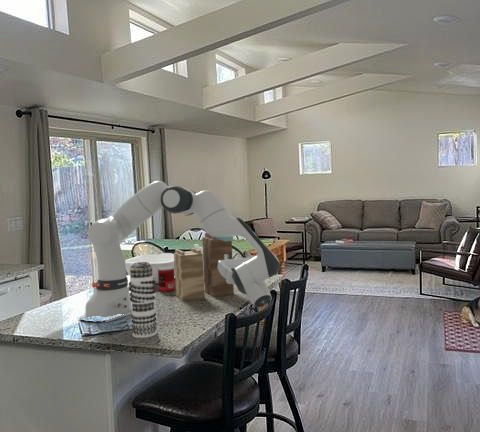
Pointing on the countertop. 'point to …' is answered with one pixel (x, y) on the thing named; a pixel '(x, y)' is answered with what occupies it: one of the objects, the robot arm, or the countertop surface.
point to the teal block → (226, 238)
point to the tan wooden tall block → (189, 274)
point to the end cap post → (215, 266)
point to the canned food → (166, 279)
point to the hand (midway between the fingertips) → (236, 254)
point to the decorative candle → (142, 300)
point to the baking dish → (153, 263)
